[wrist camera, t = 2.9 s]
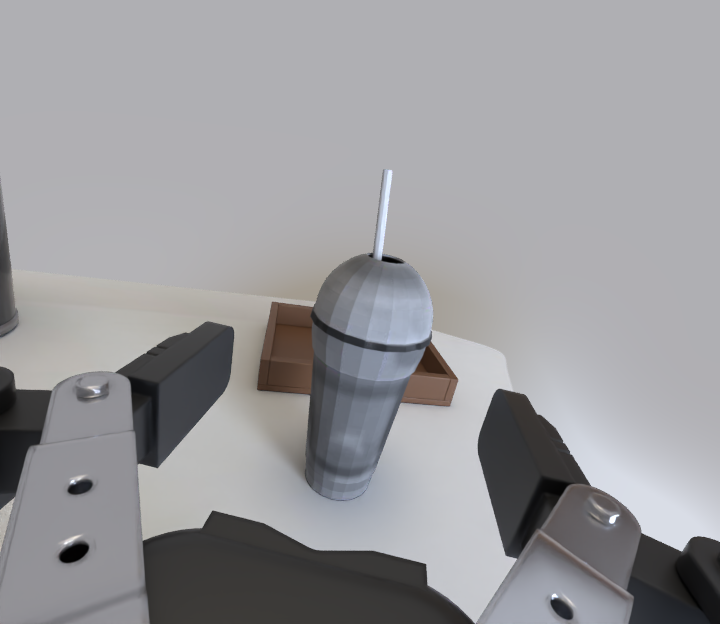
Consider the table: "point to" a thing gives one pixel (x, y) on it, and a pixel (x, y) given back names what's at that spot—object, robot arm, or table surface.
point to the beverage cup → (362, 361)
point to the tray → (295, 356)
